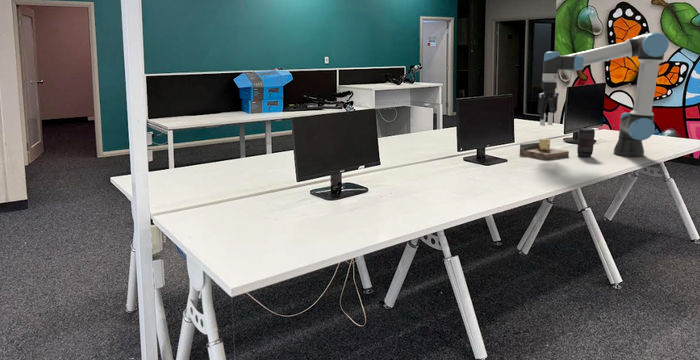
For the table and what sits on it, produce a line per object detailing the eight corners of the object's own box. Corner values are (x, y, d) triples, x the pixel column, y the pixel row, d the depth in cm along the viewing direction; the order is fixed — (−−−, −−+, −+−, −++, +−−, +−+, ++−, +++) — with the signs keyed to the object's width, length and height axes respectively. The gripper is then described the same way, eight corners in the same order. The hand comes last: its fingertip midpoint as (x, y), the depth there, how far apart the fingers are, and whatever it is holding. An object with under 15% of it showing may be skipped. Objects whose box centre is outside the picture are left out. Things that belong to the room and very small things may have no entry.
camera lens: (589, 155, 306) (592, 128, 303) (594, 158, 298) (597, 130, 295) (574, 155, 307) (576, 127, 304) (578, 157, 299) (581, 129, 296)
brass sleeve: (542, 154, 308) (544, 138, 306) (551, 156, 304) (552, 139, 302) (536, 155, 306) (537, 139, 304) (544, 157, 301) (545, 140, 299)
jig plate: (568, 156, 302) (569, 145, 300) (546, 160, 293) (547, 148, 291) (541, 151, 317) (542, 141, 315) (519, 154, 307) (520, 144, 306)
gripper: (543, 82, 288) (540, 127, 293) (566, 81, 297) (563, 124, 302) (532, 81, 294) (529, 125, 299) (555, 80, 303) (551, 123, 309)
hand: (546, 125), depth 301 cm, fingers open, 5 cm apart
